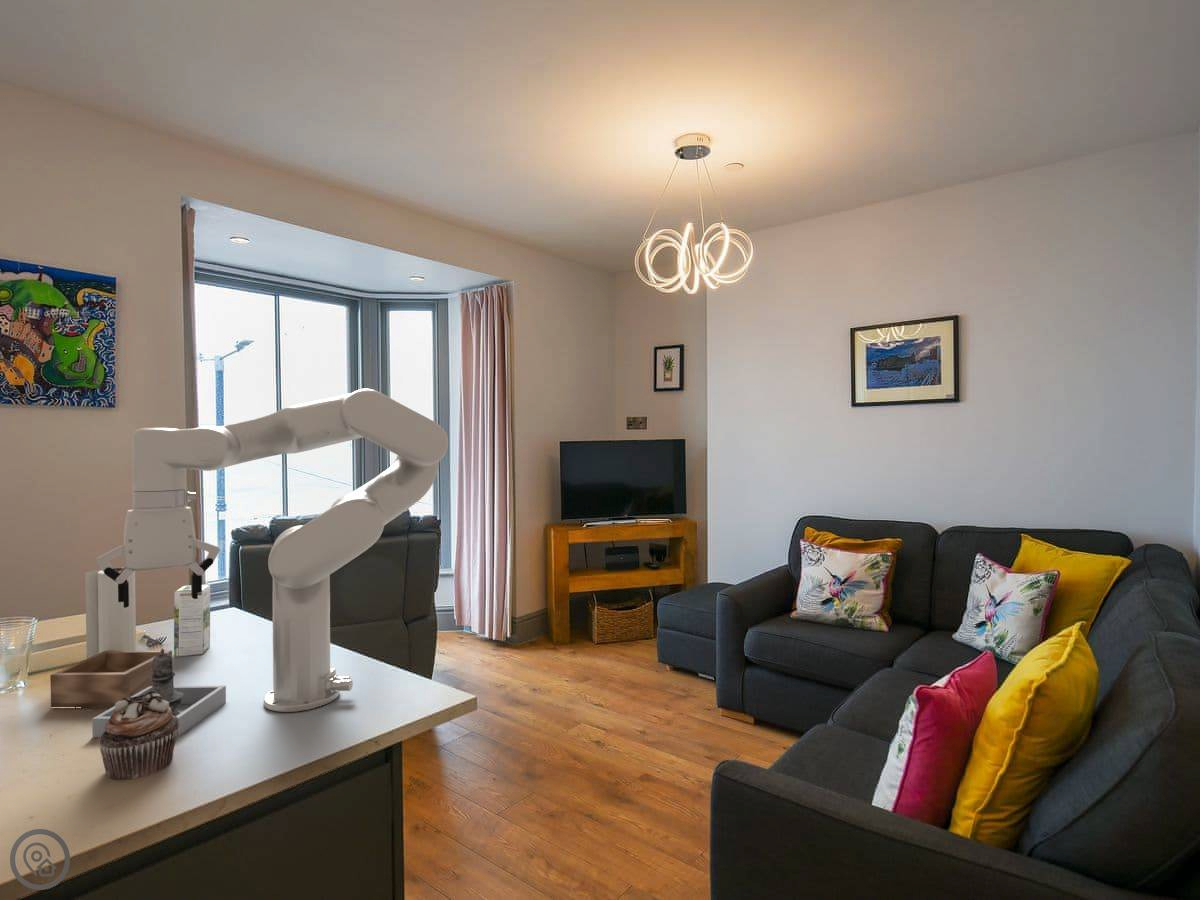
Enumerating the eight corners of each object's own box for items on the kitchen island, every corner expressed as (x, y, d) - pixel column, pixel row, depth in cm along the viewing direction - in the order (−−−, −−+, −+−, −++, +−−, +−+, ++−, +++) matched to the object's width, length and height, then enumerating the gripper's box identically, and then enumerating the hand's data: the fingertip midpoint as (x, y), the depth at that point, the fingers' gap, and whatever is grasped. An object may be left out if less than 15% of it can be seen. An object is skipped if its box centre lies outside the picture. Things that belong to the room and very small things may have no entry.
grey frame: (225, 702, 118) (225, 685, 118) (178, 736, 104) (178, 717, 104) (149, 702, 118) (149, 686, 118) (92, 737, 104) (92, 718, 104)
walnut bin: (172, 680, 128) (172, 650, 128) (125, 708, 115) (125, 674, 115) (105, 681, 128) (105, 650, 128) (50, 708, 115) (50, 674, 115)
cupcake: (86, 771, 93) (84, 702, 93) (159, 744, 102) (159, 680, 102) (118, 790, 89) (117, 717, 88) (193, 759, 97) (192, 693, 97)
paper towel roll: (143, 671, 134) (142, 567, 133) (115, 681, 128) (113, 573, 127) (116, 668, 135) (114, 565, 135) (86, 678, 130) (85, 571, 129)
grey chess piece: (163, 727, 108) (162, 655, 107) (133, 724, 109) (132, 653, 109) (192, 713, 113) (191, 644, 113) (163, 710, 114) (162, 642, 114)
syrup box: (181, 649, 148) (180, 585, 147) (211, 646, 149) (210, 583, 149) (173, 657, 142) (172, 591, 142) (204, 654, 144) (203, 589, 144)
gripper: (216, 496, 118) (217, 590, 119) (96, 502, 108) (97, 604, 109) (221, 499, 112) (222, 598, 113) (94, 505, 102) (95, 614, 103)
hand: (161, 601), depth 111 cm, fingers open, 9 cm apart
